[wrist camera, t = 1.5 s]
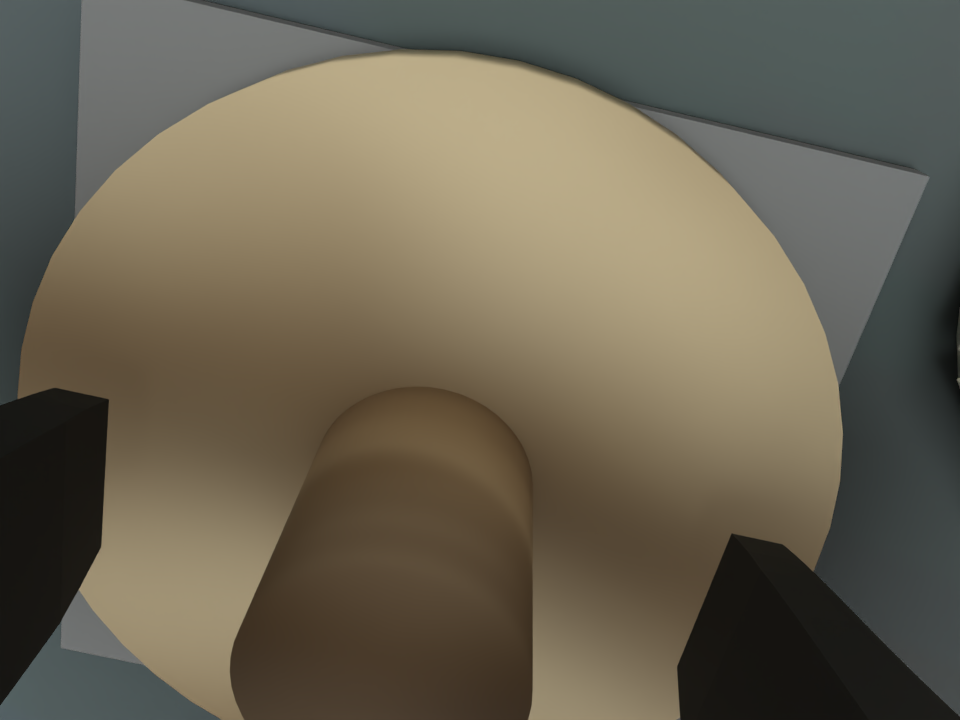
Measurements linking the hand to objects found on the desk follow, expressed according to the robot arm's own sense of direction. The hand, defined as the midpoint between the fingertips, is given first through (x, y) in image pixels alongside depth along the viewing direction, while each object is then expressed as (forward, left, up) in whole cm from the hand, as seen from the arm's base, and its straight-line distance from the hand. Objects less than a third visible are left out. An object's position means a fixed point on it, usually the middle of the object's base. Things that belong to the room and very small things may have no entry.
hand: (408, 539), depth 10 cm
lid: (0, 0, -2) cm, 2 cm away
